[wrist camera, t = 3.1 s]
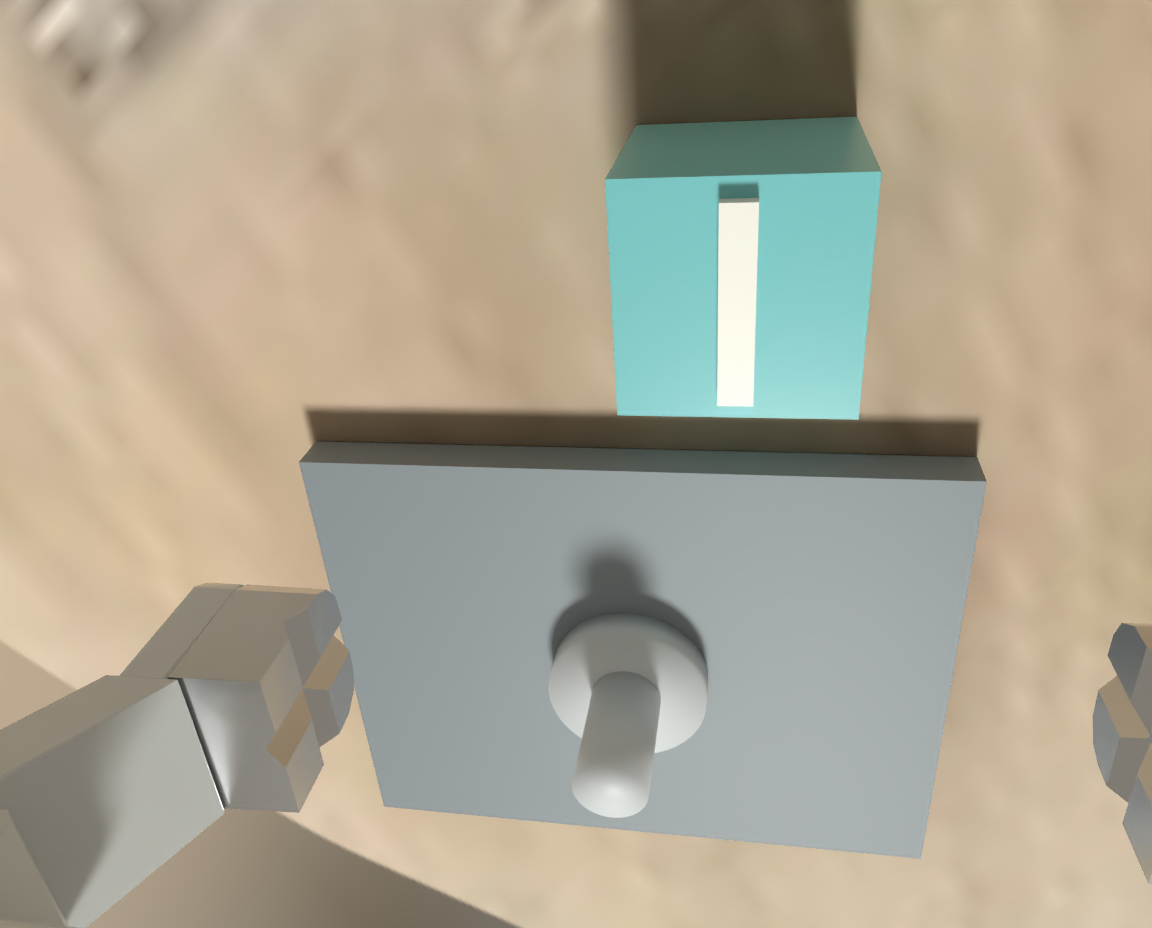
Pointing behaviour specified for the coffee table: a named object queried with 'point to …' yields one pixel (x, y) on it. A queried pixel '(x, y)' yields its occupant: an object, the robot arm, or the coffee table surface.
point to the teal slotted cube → (742, 268)
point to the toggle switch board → (653, 633)
